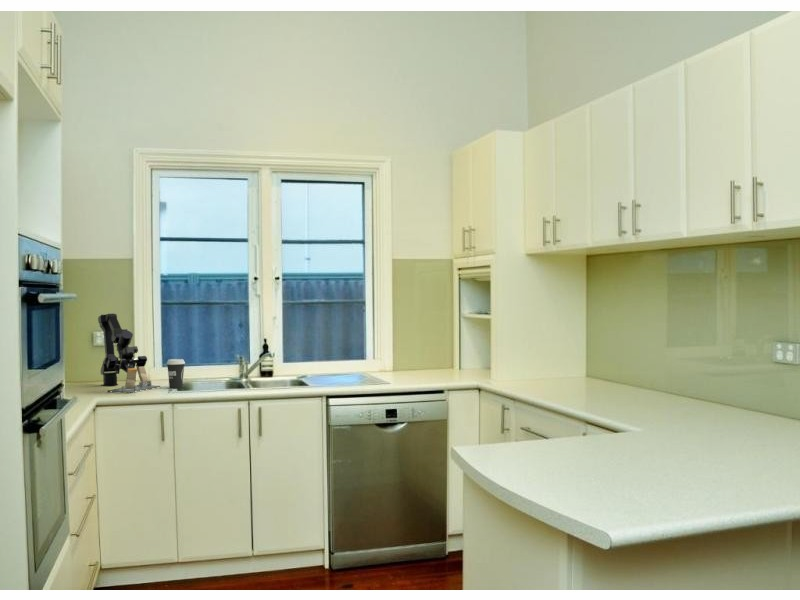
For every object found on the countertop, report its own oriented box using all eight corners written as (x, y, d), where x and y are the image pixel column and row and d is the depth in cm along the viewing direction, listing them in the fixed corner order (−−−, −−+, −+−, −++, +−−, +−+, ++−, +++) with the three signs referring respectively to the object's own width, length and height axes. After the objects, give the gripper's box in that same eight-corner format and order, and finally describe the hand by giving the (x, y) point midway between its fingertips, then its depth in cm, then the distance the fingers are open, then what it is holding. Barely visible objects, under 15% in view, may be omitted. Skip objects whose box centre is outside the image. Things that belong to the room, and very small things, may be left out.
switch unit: (107, 392, 341) (107, 385, 341) (139, 386, 362) (139, 380, 362) (129, 393, 336) (129, 387, 336) (160, 387, 357) (160, 381, 357)
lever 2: (140, 383, 355) (135, 364, 356) (146, 382, 359) (140, 363, 360) (143, 382, 354) (137, 363, 355) (148, 381, 358) (143, 362, 359)
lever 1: (124, 386, 339) (127, 368, 335) (133, 385, 342) (136, 368, 338) (125, 388, 338) (128, 370, 334) (134, 387, 340) (137, 369, 337)
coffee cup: (170, 386, 360) (169, 358, 360) (187, 386, 360) (187, 358, 360) (163, 389, 351) (163, 360, 351) (182, 389, 351) (181, 360, 351)
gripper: (108, 342, 336) (115, 365, 328) (145, 340, 348) (153, 363, 339) (103, 356, 342) (110, 380, 334) (141, 354, 354) (148, 377, 346)
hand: (130, 374), depth 338 cm, fingers closed, pressing on lever 1
